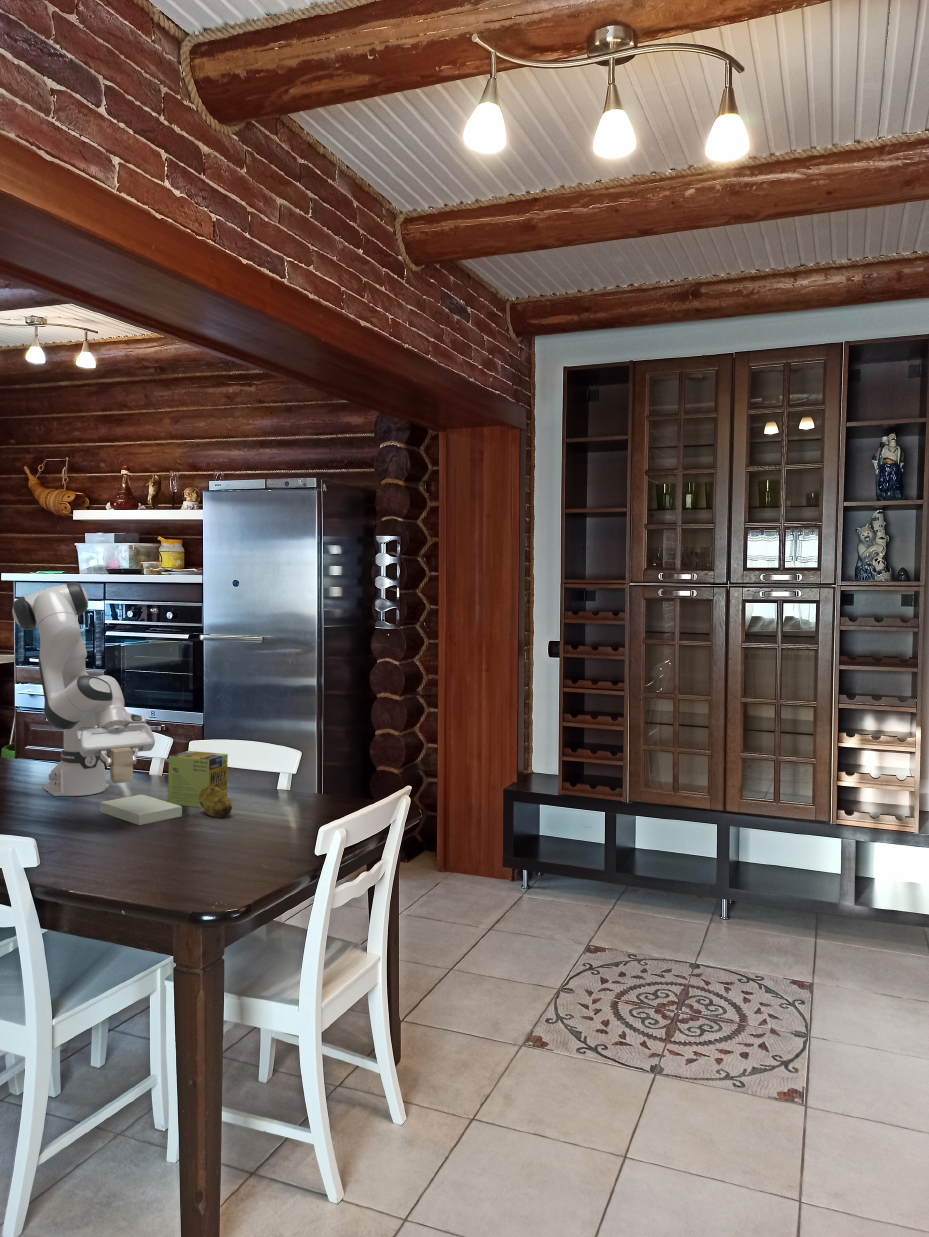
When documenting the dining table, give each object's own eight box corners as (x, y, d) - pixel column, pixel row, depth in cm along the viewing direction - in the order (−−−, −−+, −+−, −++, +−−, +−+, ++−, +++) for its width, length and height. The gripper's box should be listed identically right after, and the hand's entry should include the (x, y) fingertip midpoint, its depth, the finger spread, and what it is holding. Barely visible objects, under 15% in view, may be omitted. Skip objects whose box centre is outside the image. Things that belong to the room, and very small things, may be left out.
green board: (100, 811, 276) (100, 802, 276) (142, 803, 287) (142, 794, 287) (139, 825, 262) (139, 814, 262) (181, 816, 273) (181, 806, 273)
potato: (204, 820, 268) (205, 794, 268) (196, 810, 280) (197, 785, 279) (233, 818, 272) (233, 791, 272) (224, 808, 283) (224, 782, 283)
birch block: (110, 780, 258) (109, 748, 257) (128, 778, 261) (128, 747, 260) (114, 783, 254) (114, 751, 253) (132, 781, 257) (132, 750, 256)
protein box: (209, 808, 282) (209, 759, 282) (167, 804, 287) (167, 755, 287) (228, 801, 292) (228, 753, 292) (187, 797, 297) (188, 749, 297)
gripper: (76, 721, 256) (84, 761, 249) (150, 715, 268) (160, 754, 260) (73, 734, 260) (81, 774, 253) (146, 728, 272) (155, 766, 264)
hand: (121, 764), depth 257 cm, fingers closed on birch block, 5 cm apart
